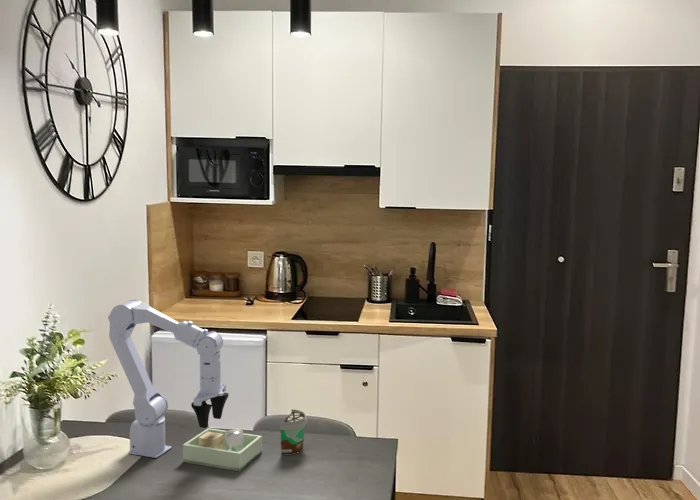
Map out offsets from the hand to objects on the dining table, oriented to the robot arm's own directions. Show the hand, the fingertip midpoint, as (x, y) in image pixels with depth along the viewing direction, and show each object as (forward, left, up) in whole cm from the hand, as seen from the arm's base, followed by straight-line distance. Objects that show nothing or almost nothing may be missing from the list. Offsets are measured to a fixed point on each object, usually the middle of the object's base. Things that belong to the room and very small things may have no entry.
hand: (210, 422), depth 197 cm
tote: (+4, 0, -10) cm, 10 cm away
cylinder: (+8, 0, -9) cm, 12 cm away
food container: (+21, +13, -10) cm, 26 cm away
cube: (0, 0, -9) cm, 9 cm away
